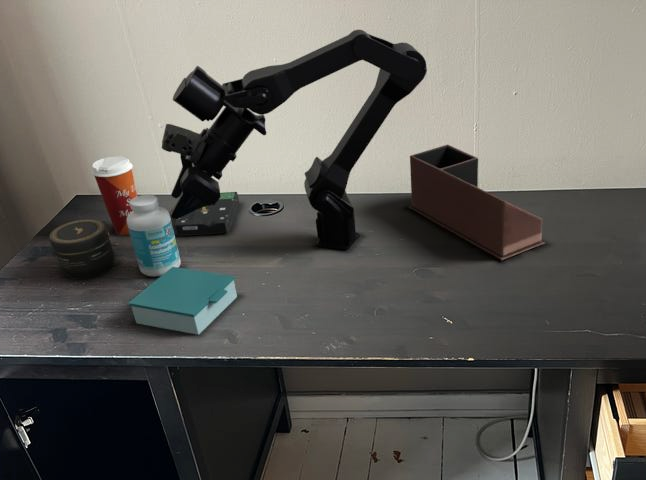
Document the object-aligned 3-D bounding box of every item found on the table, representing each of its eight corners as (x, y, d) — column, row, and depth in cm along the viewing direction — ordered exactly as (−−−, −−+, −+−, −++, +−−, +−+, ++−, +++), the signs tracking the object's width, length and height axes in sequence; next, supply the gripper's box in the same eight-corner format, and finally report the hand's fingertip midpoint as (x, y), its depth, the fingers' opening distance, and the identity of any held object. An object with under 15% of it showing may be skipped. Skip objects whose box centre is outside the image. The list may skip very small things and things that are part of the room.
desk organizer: (448, 194, 156) (448, 142, 149) (545, 244, 136) (549, 186, 129) (408, 208, 151) (405, 155, 144) (501, 262, 131) (503, 203, 124)
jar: (95, 250, 142) (84, 214, 138) (128, 263, 138) (117, 225, 133) (50, 272, 136) (36, 235, 131) (83, 286, 131) (69, 248, 127)
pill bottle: (160, 282, 131) (141, 212, 123) (132, 272, 134) (111, 204, 126) (190, 264, 136) (173, 195, 128) (162, 255, 139) (144, 188, 131)
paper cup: (137, 238, 146) (118, 170, 138) (102, 236, 147) (81, 169, 139) (155, 220, 152) (138, 155, 144) (122, 219, 153) (102, 154, 145)
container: (244, 297, 125) (240, 277, 123) (205, 337, 116) (200, 315, 114) (177, 286, 130) (172, 266, 127) (134, 323, 120) (128, 303, 118)
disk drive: (229, 234, 145) (239, 202, 157) (227, 222, 144) (237, 190, 156) (177, 238, 145) (191, 205, 157) (174, 225, 144) (188, 193, 156)
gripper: (183, 91, 128) (134, 161, 132) (183, 125, 113) (128, 202, 118) (236, 131, 134) (188, 196, 138) (243, 168, 119) (188, 239, 124)
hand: (173, 207), depth 129 cm, fingers open, 9 cm apart
